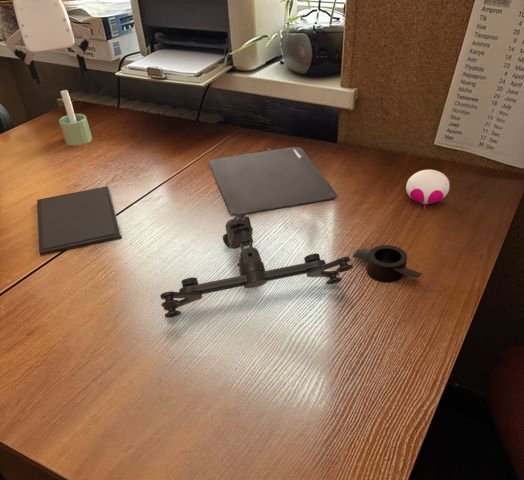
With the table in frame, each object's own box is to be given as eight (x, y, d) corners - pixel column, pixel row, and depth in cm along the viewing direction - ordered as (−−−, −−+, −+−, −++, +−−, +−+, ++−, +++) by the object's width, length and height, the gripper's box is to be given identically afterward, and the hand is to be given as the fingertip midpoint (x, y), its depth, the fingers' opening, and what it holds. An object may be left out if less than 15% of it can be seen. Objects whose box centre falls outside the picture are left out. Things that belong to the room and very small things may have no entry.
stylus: (74, 141, 120) (59, 92, 112) (76, 139, 121) (61, 90, 113) (81, 141, 120) (66, 92, 112) (82, 138, 121) (68, 89, 113)
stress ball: (401, 219, 96) (402, 203, 89) (407, 181, 97) (409, 162, 90) (443, 223, 94) (447, 206, 87) (449, 183, 95) (453, 164, 88)
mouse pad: (339, 198, 96) (339, 197, 96) (230, 216, 93) (230, 215, 92) (300, 146, 113) (300, 145, 113) (208, 160, 110) (208, 159, 110)
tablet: (38, 202, 100) (36, 199, 100) (108, 189, 103) (107, 185, 102) (40, 255, 87) (38, 252, 86) (121, 238, 89) (120, 234, 89)
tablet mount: (169, 331, 82) (160, 304, 65) (151, 249, 84) (138, 203, 67) (326, 298, 86) (355, 265, 70) (305, 220, 88) (329, 171, 72)
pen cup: (63, 148, 119) (55, 124, 115) (69, 138, 123) (62, 114, 119) (90, 146, 119) (83, 122, 115) (94, 136, 123) (88, 112, 119)
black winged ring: (391, 249, 83) (394, 234, 81) (424, 283, 76) (427, 267, 74) (349, 259, 82) (350, 244, 80) (378, 295, 75) (380, 279, 73)
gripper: (75, -24, 103) (99, 67, 115) (-13, -14, 100) (21, 80, 112) (78, -18, 98) (102, 77, 110) (-15, -7, 95) (21, 90, 107)
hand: (61, 78), depth 111 cm, fingers open, 9 cm apart
